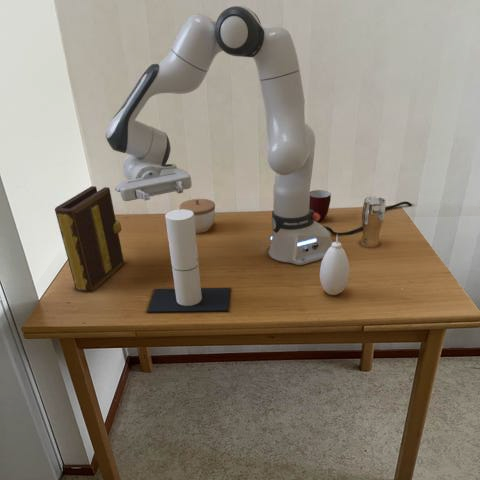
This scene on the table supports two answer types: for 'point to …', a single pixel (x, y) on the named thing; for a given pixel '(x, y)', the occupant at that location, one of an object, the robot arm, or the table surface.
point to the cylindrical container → (184, 256)
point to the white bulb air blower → (334, 269)
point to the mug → (320, 203)
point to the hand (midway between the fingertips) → (164, 193)
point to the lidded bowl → (201, 213)
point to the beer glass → (372, 220)
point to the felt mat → (210, 303)
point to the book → (90, 237)
